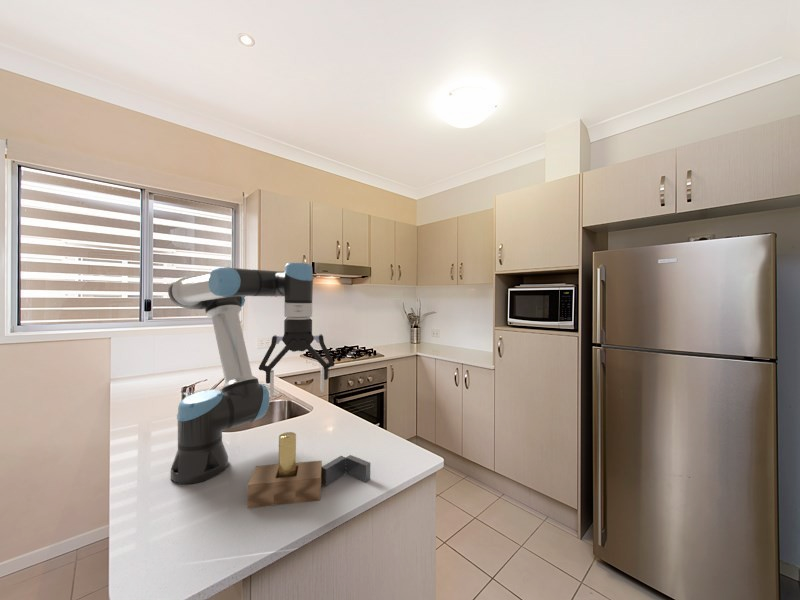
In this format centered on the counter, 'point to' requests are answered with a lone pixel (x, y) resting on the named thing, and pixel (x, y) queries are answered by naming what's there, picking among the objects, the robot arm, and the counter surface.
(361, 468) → the v block
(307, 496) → the wooden block with hole
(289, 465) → the axle
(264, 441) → the counter surface
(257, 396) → the robot arm
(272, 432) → the counter surface
